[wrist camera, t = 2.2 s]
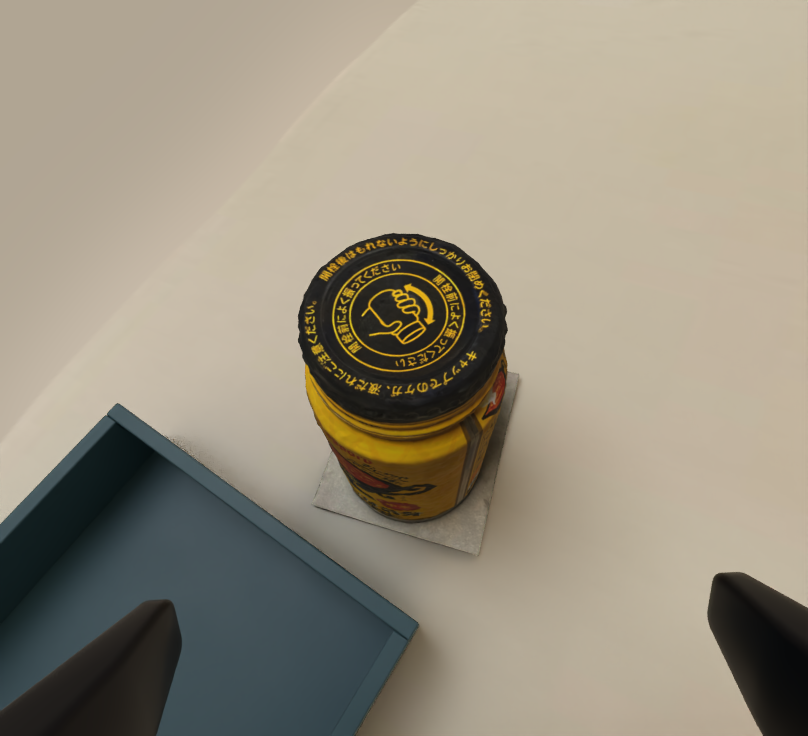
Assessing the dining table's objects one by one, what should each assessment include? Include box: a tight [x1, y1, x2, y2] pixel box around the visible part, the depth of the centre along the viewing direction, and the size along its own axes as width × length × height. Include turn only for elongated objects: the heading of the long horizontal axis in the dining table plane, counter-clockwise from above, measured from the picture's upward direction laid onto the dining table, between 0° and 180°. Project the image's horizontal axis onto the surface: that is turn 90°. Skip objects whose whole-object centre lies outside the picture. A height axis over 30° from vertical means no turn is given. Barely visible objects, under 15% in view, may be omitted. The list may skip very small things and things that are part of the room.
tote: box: [0, 403, 419, 736], centre depth 18 cm, size 15×14×4 cm
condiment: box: [298, 233, 519, 556], centre depth 18 cm, size 7×8×12 cm
